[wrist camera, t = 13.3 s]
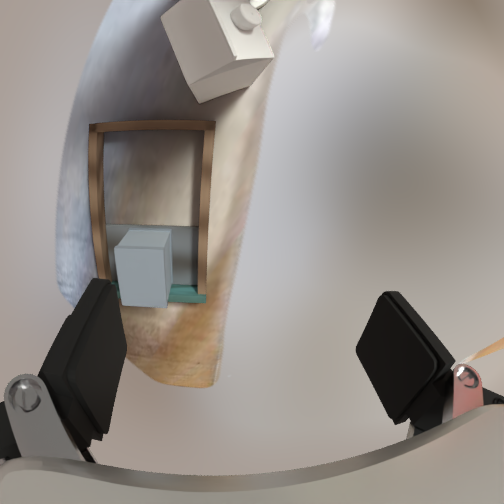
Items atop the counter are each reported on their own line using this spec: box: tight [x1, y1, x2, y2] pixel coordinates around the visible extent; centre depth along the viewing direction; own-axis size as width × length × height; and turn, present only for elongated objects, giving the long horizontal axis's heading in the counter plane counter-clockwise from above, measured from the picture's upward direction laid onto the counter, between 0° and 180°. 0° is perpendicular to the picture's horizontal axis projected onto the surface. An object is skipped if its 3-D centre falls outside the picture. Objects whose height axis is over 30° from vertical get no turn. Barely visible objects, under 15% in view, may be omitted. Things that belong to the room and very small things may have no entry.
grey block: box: [114, 228, 173, 308], centre depth 35 cm, size 8×6×7 cm
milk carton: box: [160, 0, 274, 104], centre depth 21 cm, size 7×7×19 cm
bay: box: [88, 120, 216, 303], centre depth 35 cm, size 25×16×3 cm, turn 174°
